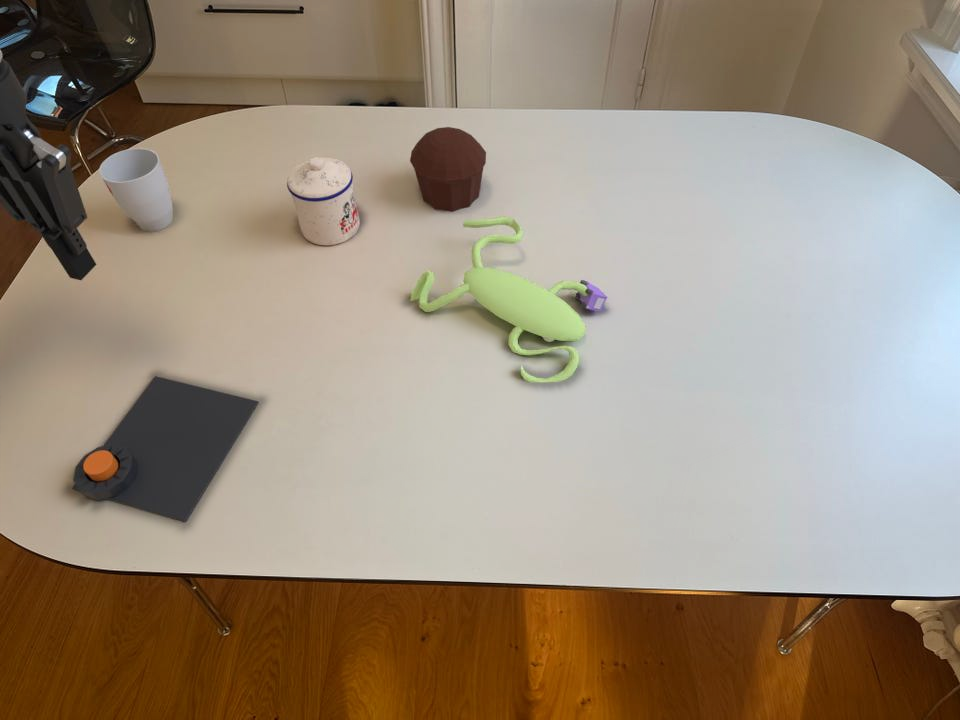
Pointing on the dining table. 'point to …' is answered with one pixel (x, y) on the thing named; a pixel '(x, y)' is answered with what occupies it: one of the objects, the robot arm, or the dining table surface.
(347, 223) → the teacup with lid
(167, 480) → the dark grey flat slab
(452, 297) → the figurine
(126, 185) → the cup
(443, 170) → the muffin
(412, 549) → the dining table surface
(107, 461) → the button
